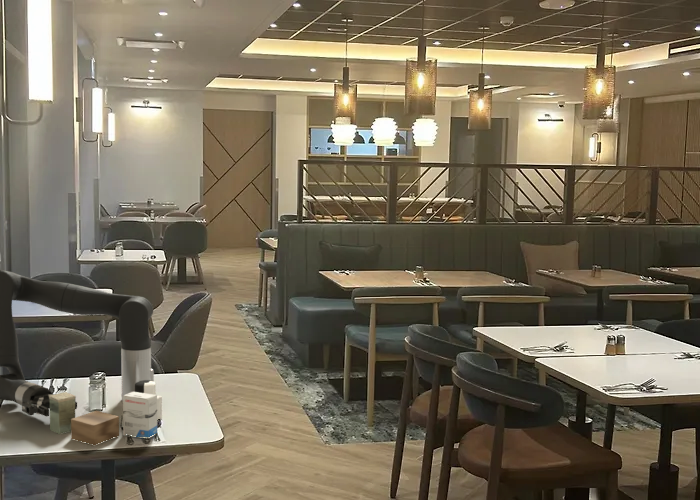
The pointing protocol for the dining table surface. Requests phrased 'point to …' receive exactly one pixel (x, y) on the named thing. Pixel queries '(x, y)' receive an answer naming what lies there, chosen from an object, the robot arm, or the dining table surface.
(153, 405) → the ink box
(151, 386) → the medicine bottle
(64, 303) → the robot arm
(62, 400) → the tea tin
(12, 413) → the dining table surface
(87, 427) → the walnut block
